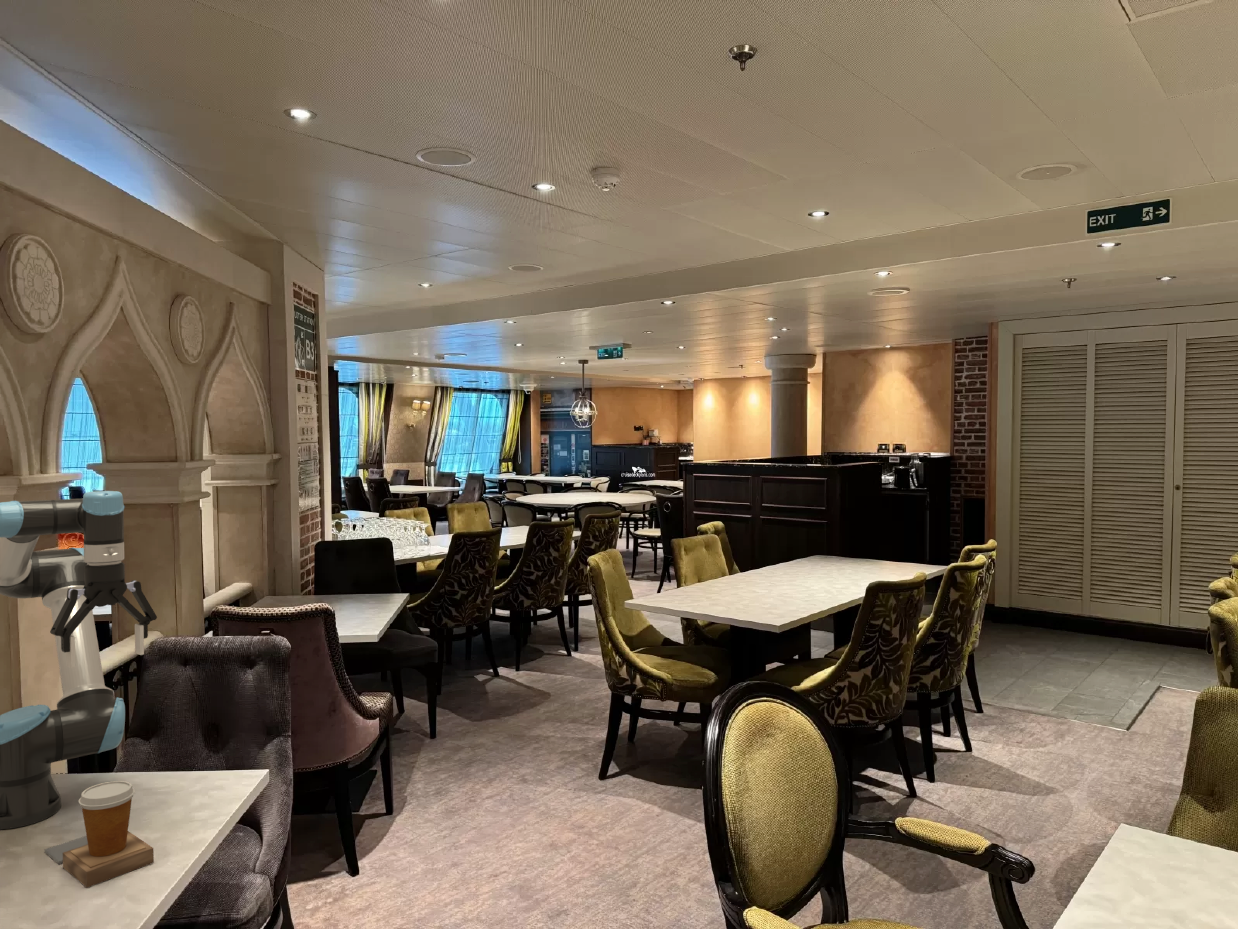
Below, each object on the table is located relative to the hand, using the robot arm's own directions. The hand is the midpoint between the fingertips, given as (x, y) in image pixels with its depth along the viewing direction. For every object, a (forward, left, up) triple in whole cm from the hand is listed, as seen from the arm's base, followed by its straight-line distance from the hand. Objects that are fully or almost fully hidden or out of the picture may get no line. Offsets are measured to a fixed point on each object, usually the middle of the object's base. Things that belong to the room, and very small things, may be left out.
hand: (106, 660), depth 184 cm
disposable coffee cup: (+18, -7, -34) cm, 39 cm away
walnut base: (+18, -7, -37) cm, 41 cm away
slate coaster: (+6, -9, -37) cm, 38 cm away
